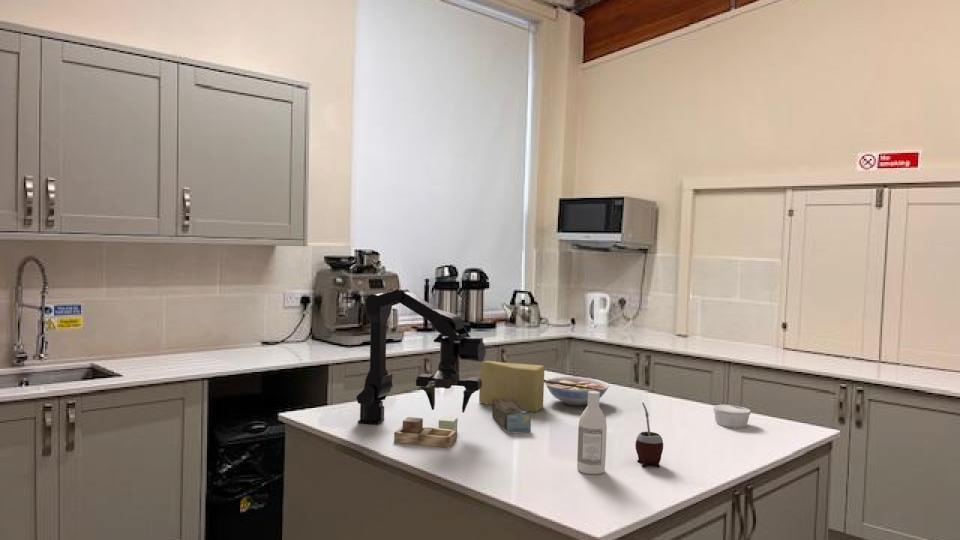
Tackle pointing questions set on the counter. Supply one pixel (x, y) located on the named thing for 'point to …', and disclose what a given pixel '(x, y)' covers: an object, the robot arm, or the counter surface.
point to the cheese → (513, 383)
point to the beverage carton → (511, 415)
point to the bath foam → (592, 437)
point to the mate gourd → (649, 446)
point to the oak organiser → (427, 437)
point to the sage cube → (448, 423)
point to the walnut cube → (413, 425)
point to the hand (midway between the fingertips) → (448, 411)
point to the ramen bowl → (574, 389)
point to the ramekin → (731, 416)
